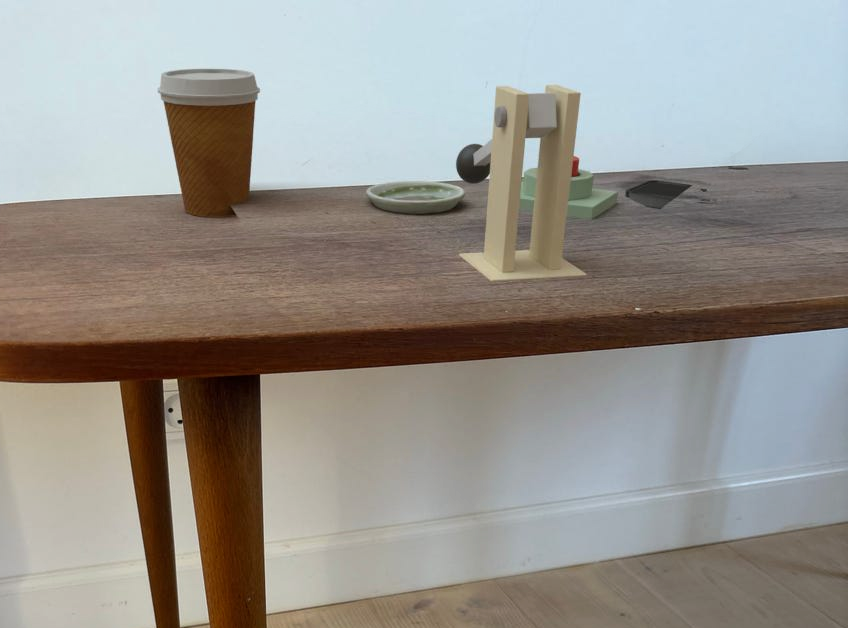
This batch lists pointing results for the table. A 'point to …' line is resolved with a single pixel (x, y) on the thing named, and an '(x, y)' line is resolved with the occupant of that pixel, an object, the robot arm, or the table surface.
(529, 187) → the control block
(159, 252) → the table surface
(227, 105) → the disposable coffee cup
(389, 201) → the saucer
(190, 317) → the table surface
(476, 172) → the control lever
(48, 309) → the table surface
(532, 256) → the lever bracket
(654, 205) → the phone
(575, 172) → the button
